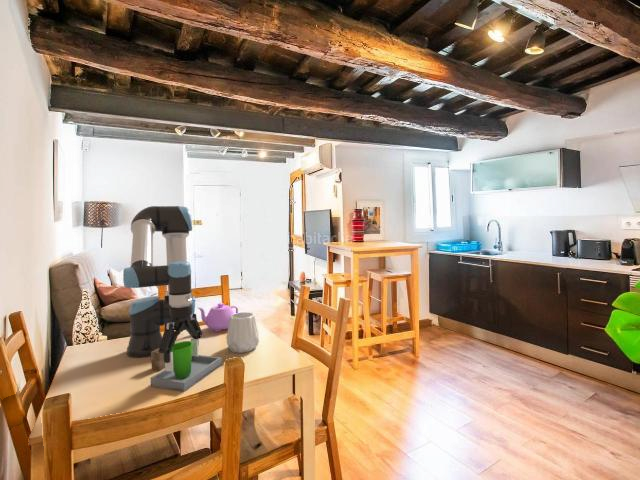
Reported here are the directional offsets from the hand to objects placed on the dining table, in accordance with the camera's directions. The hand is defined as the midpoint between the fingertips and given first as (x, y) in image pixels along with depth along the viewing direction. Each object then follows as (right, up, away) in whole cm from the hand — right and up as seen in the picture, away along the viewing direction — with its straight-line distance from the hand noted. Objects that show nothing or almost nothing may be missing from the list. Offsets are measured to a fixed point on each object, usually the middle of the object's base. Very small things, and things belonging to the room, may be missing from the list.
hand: (182, 363), depth 123 cm
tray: (+1, -6, +3) cm, 6 cm away
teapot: (-4, -3, +57) cm, 57 cm away
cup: (0, -5, 0) cm, 5 cm away
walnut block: (-13, -5, +10) cm, 17 cm away
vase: (+15, -4, +29) cm, 33 cm away
